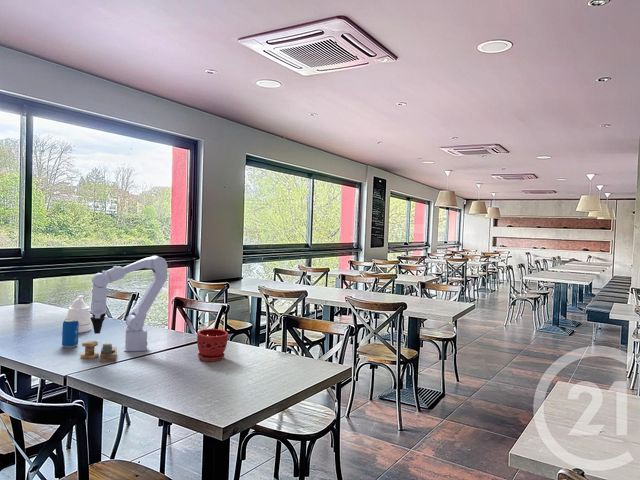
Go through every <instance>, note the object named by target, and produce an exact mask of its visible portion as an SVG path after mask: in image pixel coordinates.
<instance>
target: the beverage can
mask: <svg viewBox="0 0 640 480" xmlns="http://www.w3.org/2000/svg"><path fill="white" fill-rule="evenodd" d="M78 330H79V322H78V319H63V322H62V330H61V331H62V334H61V335H62V336H61V338H62V339H61V345H62V347H63V348H67V349H68V348H76V346H77V345H79V333H78Z"/></svg>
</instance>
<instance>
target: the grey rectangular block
mask: <svg viewBox="0 0 640 480" xmlns="http://www.w3.org/2000/svg"><path fill="white" fill-rule="evenodd" d="M102 347H103V353H102V354H111V353H112V347H113V343H109V342H106V343H104V344H102Z"/></svg>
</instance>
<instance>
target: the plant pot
mask: <svg viewBox="0 0 640 480" xmlns="http://www.w3.org/2000/svg"><path fill="white" fill-rule="evenodd" d="M196 336H197V337H196V341H197V342H196V344H197V349H198V353H197V358H198V359H200V360H202V361H205V362H217V361H220V360H223V359H224V358H225V354H226V353H224V352H225V351H226V347H227V345H228V340H229V339H228V338H229V333H228V332H227V331H226V330H224V329H217V328H205V329H201V330H198V332H197V335H196Z"/></svg>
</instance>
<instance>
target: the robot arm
mask: <svg viewBox="0 0 640 480" xmlns="http://www.w3.org/2000/svg"><path fill="white" fill-rule="evenodd" d="M168 267H169V265H168V263H167V261H166V259H165V258H163V257H162V256H158V255H152V256H149V257H145V258H142V259H140V260H137V261H135V262H133V263H130V264H127V265H126V266H120V265H118V266H117V265H114V266H112V268H110V269H108V270H101V272H97V273H95V274H94V275H93V276H92V278H91V283H92V293H91V309H88V311H89V313H90V314H92V315H91V316H90V317H91V318H90V319H91V321H92V322H91V323H92V326H93V333H94V335H95V334H99V335H100V334H101V330H102V328H103V323H104V321H105V319H106V315H107V294H108V293H107V292H108V290H107V287H108V286H107V285H108V284H111V283H113V282H117V281H119V280H122V279H124V278H125V276H126V275H127V274H129V273H133V272H136V271H138V270H141V269H150V270H151V271H152V273H153V274H152V275H153V277H154V278H153V280H152V282H151V283H150V285H149V286H148V288H147V289H146V291H145V293H144V294H143V296H142V297H141V299H140V301H139V303H138V304H137V306H136V308H134V309H133V310H132V311H131V313H130V314H128V315H127V316H126V317H125V324H126V326H127V327H126V328H125V340H124V346H123V352H144V351H146V352H147V350H148V349H147V347H148V329H144V326H145V321H146V319H147V313H148V312H149V310H150V309H151V307H152V305H153V303H154V301H155V300H156V299H157V297H158V294H159V293H160V292H161V290H162V289H163V287H164V285H165V283H166V282H167V279H168Z"/></svg>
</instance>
